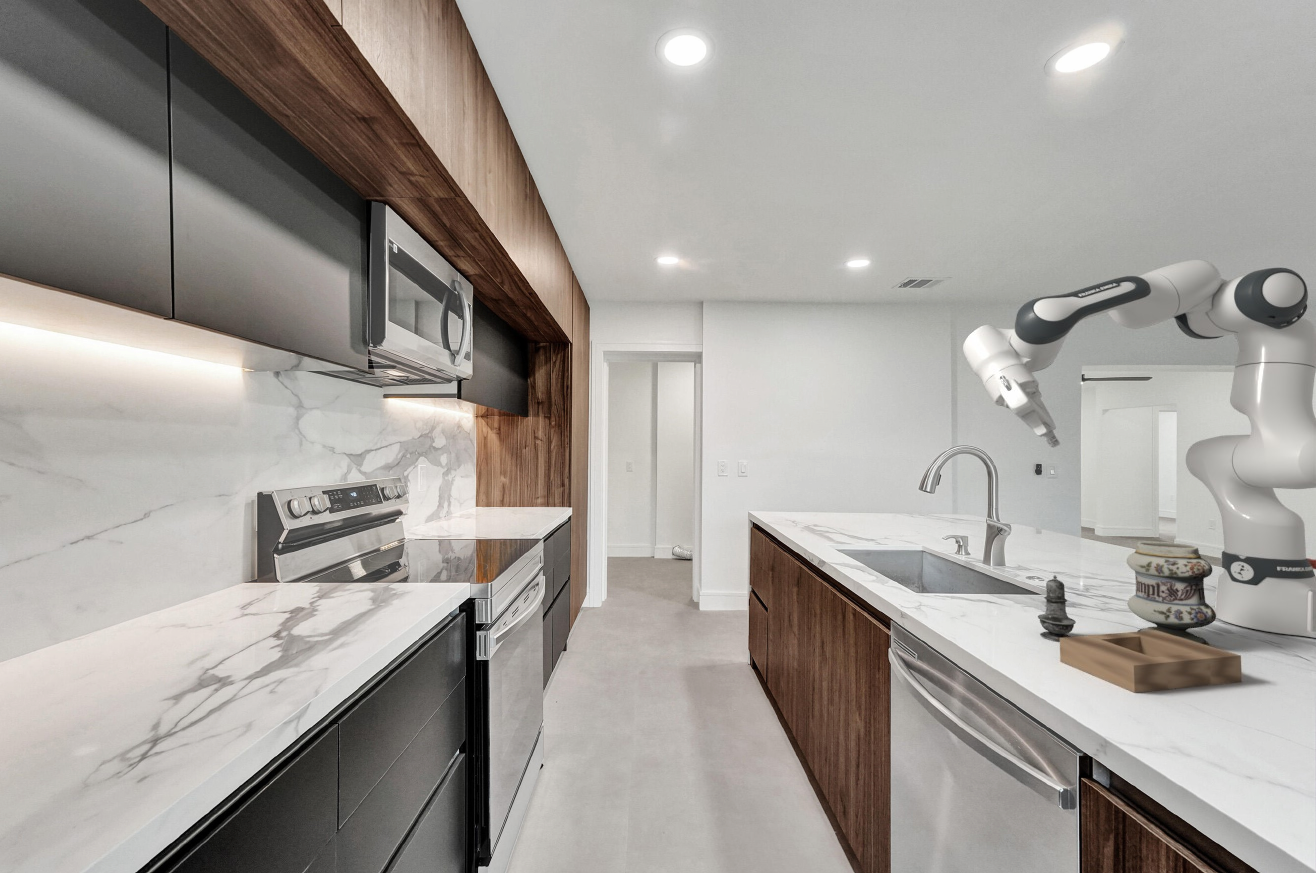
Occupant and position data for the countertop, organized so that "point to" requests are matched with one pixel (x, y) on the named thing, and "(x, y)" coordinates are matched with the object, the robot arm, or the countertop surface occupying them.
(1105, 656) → the wooden tray
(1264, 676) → the countertop surface
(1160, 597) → the apothecary jar
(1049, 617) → the salt shaker
